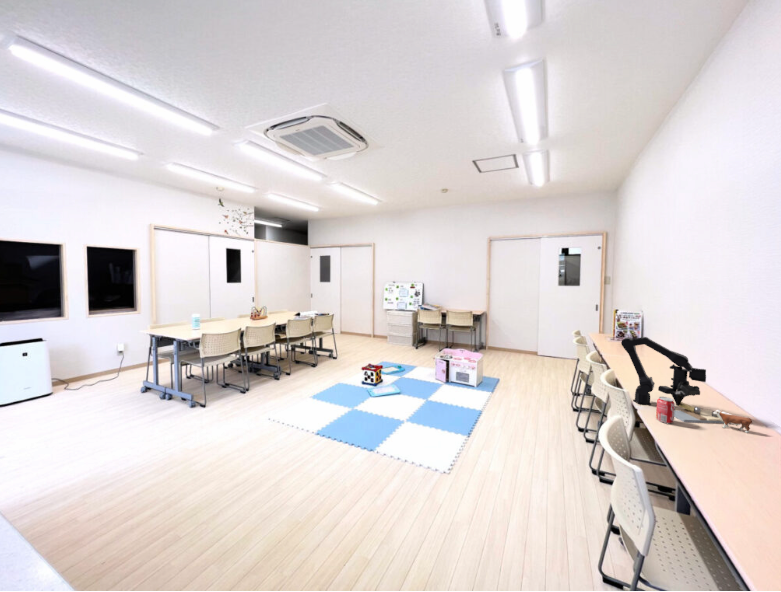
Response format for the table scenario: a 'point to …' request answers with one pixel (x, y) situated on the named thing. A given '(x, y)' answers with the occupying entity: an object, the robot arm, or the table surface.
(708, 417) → the door mockup
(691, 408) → the latch bar
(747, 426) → the bull figurine
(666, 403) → the soda can
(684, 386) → the robot arm
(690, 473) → the table surface
